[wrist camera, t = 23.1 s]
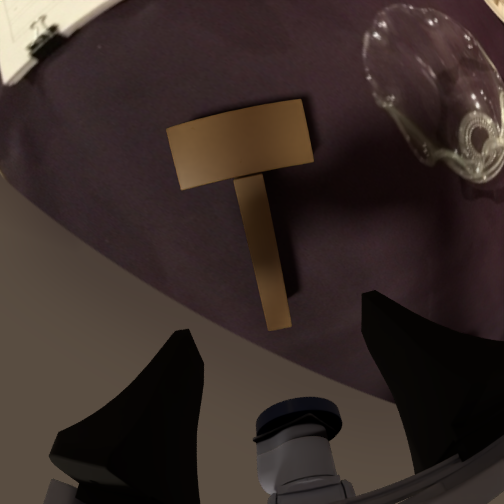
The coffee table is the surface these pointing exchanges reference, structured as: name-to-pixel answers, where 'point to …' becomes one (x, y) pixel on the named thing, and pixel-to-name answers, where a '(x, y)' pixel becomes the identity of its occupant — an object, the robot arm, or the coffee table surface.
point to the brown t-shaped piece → (247, 177)
